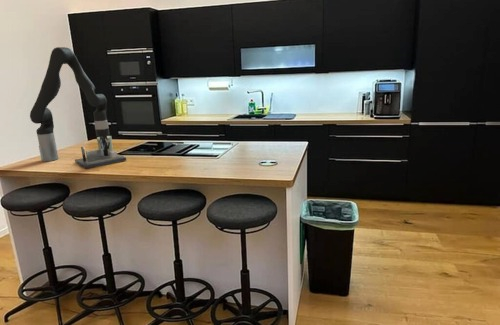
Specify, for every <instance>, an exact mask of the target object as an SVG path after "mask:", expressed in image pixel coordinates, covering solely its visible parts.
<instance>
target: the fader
mask: <svg viewBox="0 0 500 325" xmlns="http://www.w3.org/2000/svg"><path fill="white" fill-rule="evenodd" d="M109 153H110V158H113V157H117V154H118V153H117V151H116V150H113V151H110V152H109Z"/></svg>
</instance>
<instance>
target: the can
mask: <svg viewBox="0 0 500 325" xmlns="http://www.w3.org/2000/svg"><path fill="white" fill-rule="evenodd" d="M107 138H108V142H110V145H109V149H108V153H109V152H110V151H114V147H113V138H112V135H108V136H107ZM99 139H100V137H98V136H96V141H97V146H98V149H102V148H101V146H100V143H99Z"/></svg>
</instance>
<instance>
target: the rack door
mask: <svg viewBox="0 0 500 325" xmlns="http://www.w3.org/2000/svg"><path fill="white" fill-rule="evenodd" d="M108 155H109V154H108ZM101 156H104V152H103V149H99V148H98V149H94V150H89V151H85V157H86V158H87V159H91V158H96V157H101Z"/></svg>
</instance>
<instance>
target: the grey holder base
mask: <svg viewBox="0 0 500 325" xmlns="http://www.w3.org/2000/svg"><path fill="white" fill-rule="evenodd" d="M80 148H81V154H82V158H78V159H75V160H74V162H75V164H77V165H79V166H80V167H82V168H83V169H85V170H89V169H92V168H97V167H102V166H107V165H111V164H113V165H114V164H116V163H121V162H126V161H127V157H126V156H124V155H121V154H118V153H117V157H113V158H110V153H108V154H109V155H108V156H101V157H96V158H91V159H87V157H86V151H85V146H81V147H80Z"/></svg>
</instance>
